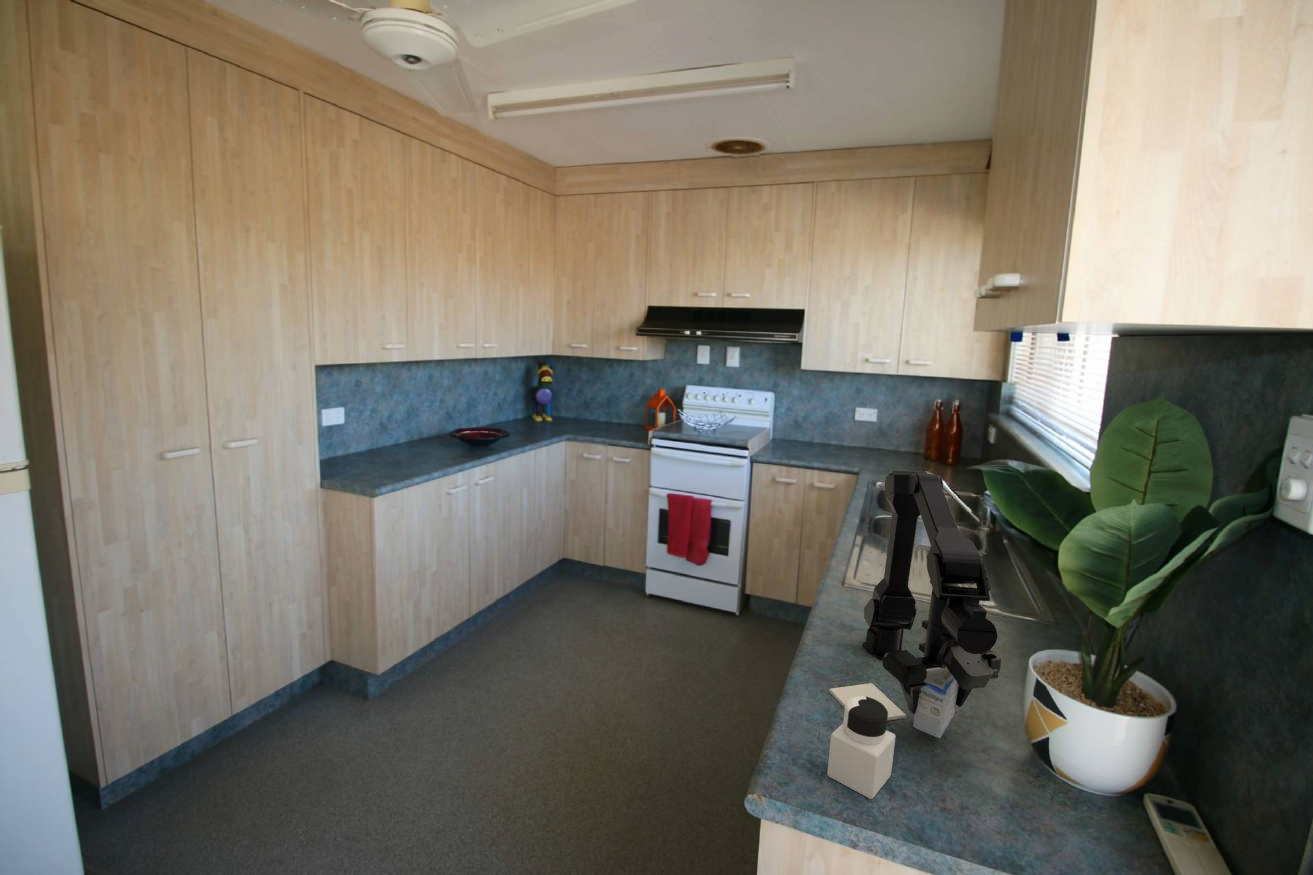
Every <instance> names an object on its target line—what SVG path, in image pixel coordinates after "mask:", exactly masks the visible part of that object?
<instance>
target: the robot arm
mask: <svg viewBox="0 0 1313 875" xmlns="http://www.w3.org/2000/svg"><path fill="white" fill-rule="evenodd" d="M884 490H885V498H886V501H887V503H888V504H889V506H890V509H891V510H892V513H891V521H890V527H889V536H888V537H889V538H888V544H887V545H888V546H887V552H886V560H885V566H884V575H883V578H882V579H881V580H880V581H879V582H878V583H877V584H876V585H875V587H874V588H873V592H872V597H871V598H870V599H869V601H868V602H867V603H866V605H865V606H864V607H863V618H864V620H865V622H866V624H867V625H868V628H867V630H866V637H865V641H863V642H862V646H863V647H864V648H865V649H867V651H869V652H870V653H871V654H872V655H874V656H875V657H876V658H877V659H878V660H882V667H883V668H884V669H885V670H886V671H887V672H888V673H889V674H890V675H892V677H894V678H895V679H897V681H898V682H899V685H900V687H901V689H902V690H901V691H902V693H903V696H904V698H905V702H906V705H907V708H908V711H909V712H910V713H911V714H912V715H913V714H914V715H915V713H916V710H917V706H918V700H919V694H920V689H921V688H922V687H924V686H926V685H927V684H926V683H924V682H923V681H924V680H925V679H926V676H927V671H929V670H937V669H944V668H947V669H948V670H949V672H950V673H951V674H952V676H953V677H954V678H955V680H956V681H957V684H958V685H959V686H958V692H957V699H956V705H955V706H958V707H959V708H962V707H963V705H964V704H965V701H967V699H968V697H969V696H970V694H971V692H972V690H973V689H978V688H980V689H985V688H986V687H987V685H988V683H989V681H990V680H995V679H999V673H1000V671H1001V664H1002V658H1001V657H1000V656H999V655H998V654H997V652H996V651H993V650H992V649H993V647H994V646H995V644H997V640H998V636H999V635H998V633H997V632H998V631H997V628H996V626H995V624H994V623H993V622H992V621H991V620H990V619H989V618H988V617H987V610H986V609H985V608H984V606H982V605H980V602H990V600H991V598H990V591H991V589H992V588H991V585H990V580H989V577H988V573H987V569H986V565H985V563H984V559H983V558H982V556H981V554H980V552H979V551H978V549H977V547H976V546H975V544H974V542H973V541H972V540H971V539H970V538H968V537H967V536H965V535H964V534H962V532H961V531H960V529H959V527H958V524H957V522H956V520H955V517H954V514H953V512H952V509H951V507H950V504H949V501H948V499H947V496H946V494H945V491H944V481H943V478H942V476H941V475H938V474H935V473H927V472H926V471H921V470H920V471H919V470H902V469H901V470H900V469H898V470H897V469H893V470H892V471H891V473H888V475H886V476H885V479H884ZM919 517H921V519H922V520H921V521H922V523H923V525H924V528H925V532H926V534H927V537H928V541H929V544H930V545H929V546H930V548H929V550H928V552H927V555H926V569H927V573H928V577H929V583H930V585H931V594H930V603H929V610H928V618H927V620H926V619H925V620H922V621H921V622H922V623H921V627H922V628H924V629H925V630H926V634H925V642H924V643H919V646H918V650H919V651H920V652H922V653H923V656H921V657H916V656H914V655H913V654H912V653H911V652H909V651H908V649H902V648H903V647H902V646H903V639H904V630H908V631H911V630H912V627H913V626H914V622H915V618H916V615H917V612H918V609H917V608H916V604H917V602H916V599H915V598H914V595H913V593H912V592H911V589H910V587H909V582H910V581H909V580H910V576H911V575H910V574H911V568H912V560H913V553H914V548H915V539H916V532H917V526H918V520H919ZM960 585H966V586H960ZM967 585H968V587H967ZM969 585H970V586H974V585H976V587H969Z"/></svg>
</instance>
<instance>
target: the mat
mask: <svg viewBox="0 0 1313 875" xmlns="http://www.w3.org/2000/svg"><path fill="white" fill-rule="evenodd" d="M829 693H830V694H831V695H832V696H833V697H834V698H835V699H836V700H837V701H838V703H839V704H840V705H841V706H842V707H843V708H844V709H845V703H846V701H847V700H848V699H850V698H851V697H855V696H865V697H870V698H873V699H875V700H877V701H879V702H880V703H882V704H883V705H884V706H885V708H886V709H887V711H888V718H887V722H888V721H893V720H899V719H906V717H907V714H905V712H904V711H902V710H901V709H900V708H899V707H898V706H897V705H896V704H895V703H894V702H892V701H891V700H890V698H889V697H888V696H886V695H885V694H884V693H883V692H882V691H881V690H880V689H879V688H878V687H876V686H875V684H873V683H872V682H870V683H863V684H862V683H861V684H856V685H854V684H853V685H849V686H840V687H834V688H829Z"/></svg>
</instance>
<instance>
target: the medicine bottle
mask: <svg viewBox="0 0 1313 875" xmlns="http://www.w3.org/2000/svg"><path fill="white" fill-rule="evenodd" d="M887 718H888V711H887V709H886V708H885V706H884V705H883V704H882V703H880V702H879V701H877V700H875V699H873V698H870V697H865V696H855V697H851V698H850V699H848V700H847V701H846V703H845V708H844V714H843V722H842V723H841V724H840V725H839V726H838V727H837V728H836V729H835V730H834V731H833V732H832V733H831V734H830V743H829V752H828V764H827V773H826V774H827V776H828V777H829V778H830V779H833V780H834V781H835V782H838V783H839V784H842V785H844V786H845V787H847V788H849V789H851V790H853V791H855V792H857V793H858V794H861V795H862V796H864V797H866V798H867V799H870V800H872V799H874V798H875V796H876V795H877V793H878V792H879V791H880V790H881V789H882V788H883V786H884V784H885V783H886V782H887V781H888V780H889V779H890V777H891V776H892V769H893V768H892V767H893V762H894V761H893V760H894V753H895V744H896V734H895V733H893V732H891V731H889V730H887V724H888V721H887Z"/></svg>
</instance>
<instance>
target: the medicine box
mask: <svg viewBox="0 0 1313 875" xmlns="http://www.w3.org/2000/svg"><path fill="white" fill-rule="evenodd" d="M923 682H924V683H926V684H927V685H926V686H924V687H922V688H921V689H920V694H919V700H918V706H917V710H916V713H915V714H914V718H913V723H912V724H913V727H914V728H915V729H917V730H918V731H920V732H924V733H925V734H928V735H930V736H933V737H935V738H938V739H941V737H942V736H943V734H944V732H945V731H946V729H947V727H948V726H949V724H950V722H951V721H952V719H953V717H954V716H955V709H956V706H957V705H956V699H957V692H958V686H959V685H958V684H957V681H956V680H955V678H954V677H953V676H952V674H951V673H950V672H949V670H948V669H947V668H944V669H937V670H929V671H927V676H926V679H925V680H924V681H923Z"/></svg>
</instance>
